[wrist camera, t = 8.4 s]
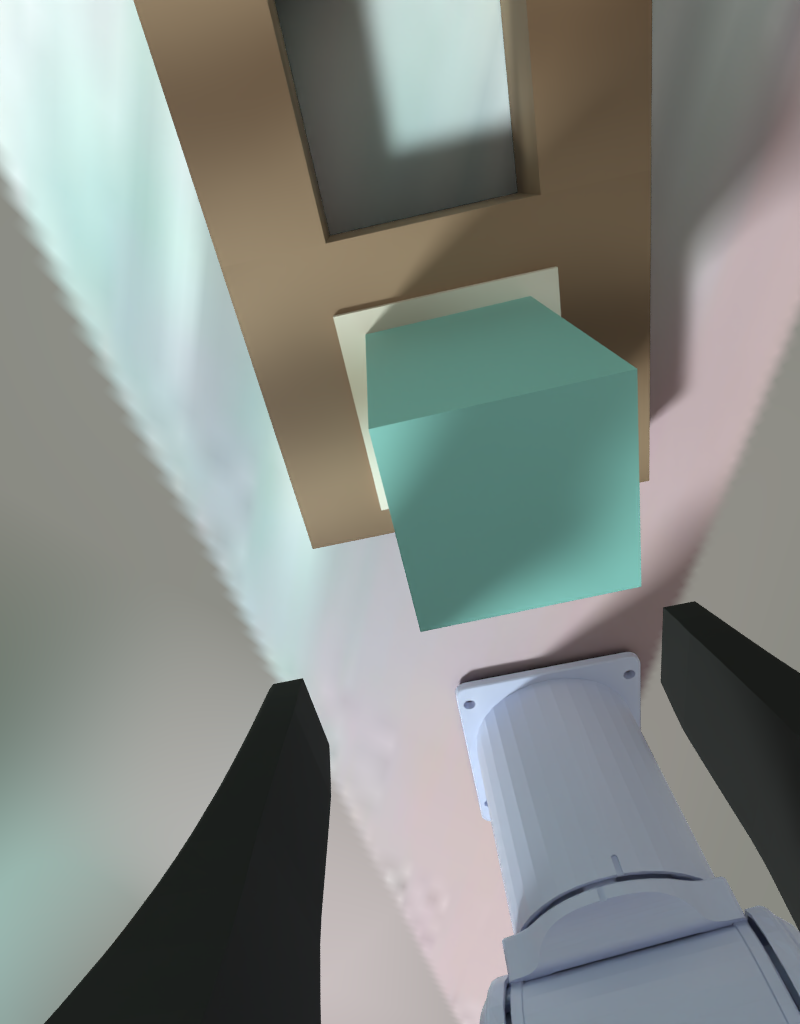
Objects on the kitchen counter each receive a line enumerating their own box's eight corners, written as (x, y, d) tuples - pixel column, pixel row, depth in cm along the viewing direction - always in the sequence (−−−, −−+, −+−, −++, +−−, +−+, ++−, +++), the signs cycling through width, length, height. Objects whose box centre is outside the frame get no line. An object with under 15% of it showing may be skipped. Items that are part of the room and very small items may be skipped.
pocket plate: (619, 449, 21) (651, 483, 19) (317, 511, 22) (312, 552, 19) (606, -195, 13) (658, -274, 11) (135, -74, 14) (90, -125, 12)
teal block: (545, 448, 18) (641, 586, 12) (400, 480, 18) (420, 631, 12) (530, 295, 16) (637, 368, 10) (365, 334, 16) (368, 429, 10)
